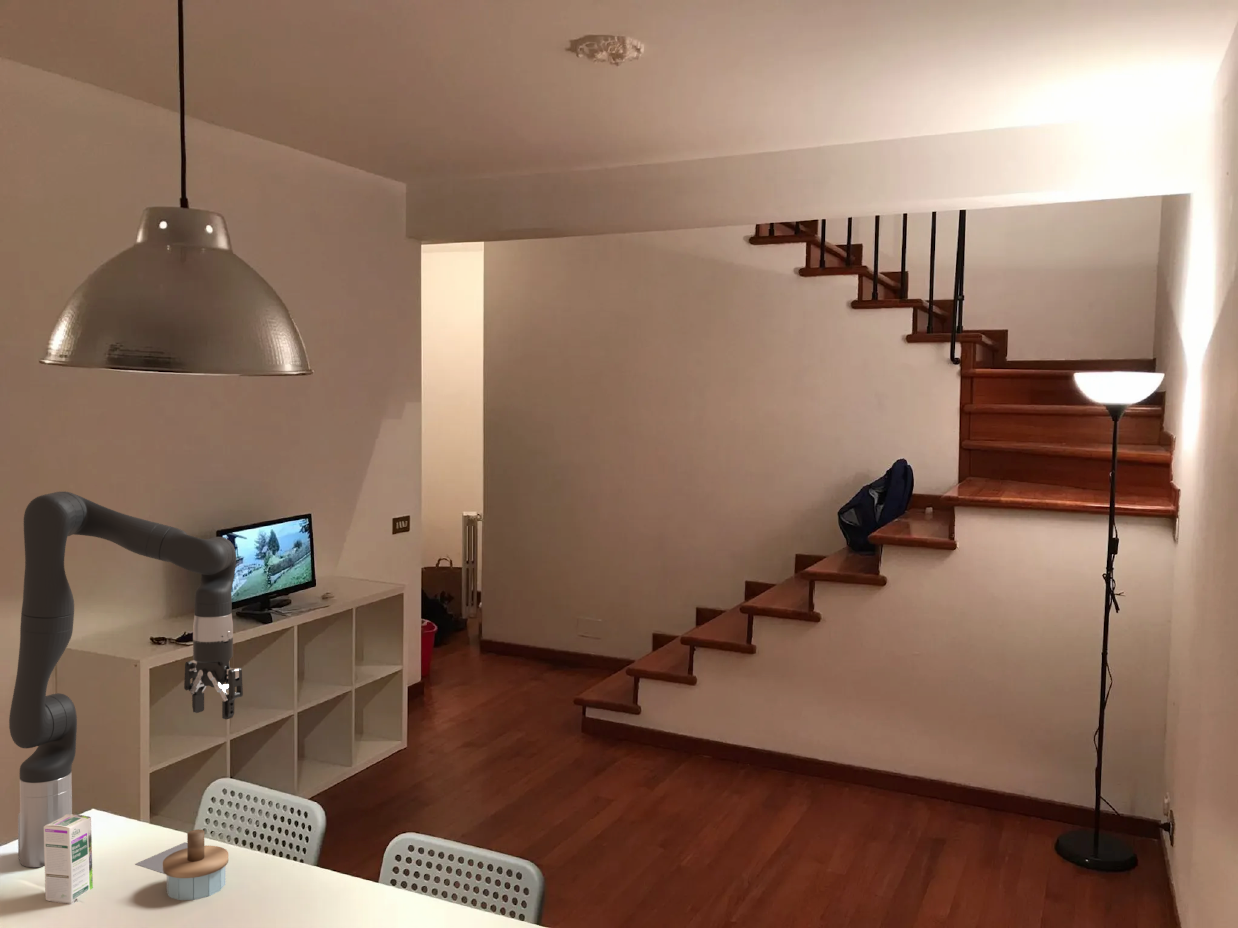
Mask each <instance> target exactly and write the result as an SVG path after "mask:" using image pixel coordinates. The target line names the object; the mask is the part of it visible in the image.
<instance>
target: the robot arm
mask: <svg viewBox="0 0 1238 928" xmlns="http://www.w3.org/2000/svg"><path fill="white" fill-rule="evenodd" d="M72 535H73V536H74V535H75V536H78V535H79V536H87V537H94V538H99V539H103V540H105V541H109V542H111V543H113V544H116V545H118V546H120V547H121V548H124V549H126V550H128V551H130V552H132V553H134V554H137V555H140V556H143V557H147V558H150V559H155V560H158V561H162V562H167V563H171V564H173V565H175V566H177V567H179V568H182V569H184V570H187V571H188V572H189V571H190V572H192V573H195V574H199V575H201V576H200V583H199V585H198V587H196V589H195V592H194V616H193V617H194V618H193V623H192V625H193V627H192V628H193V629H192V658H193V660H189V661H185V664H184V680H183V682H184V683H183V685H184V687H183V688H184V690H185V691H189V692H190V693H189V694H190V695H192V697H191V699H192V700H191V701H192V703H191V704H192V705H191V706H192V712H193V713H195V714H198V713H202V712H204V711H205V692H204V691H205V690H206V688H207V687H210V688H214V689H215V691H216V692H217V693H219V695H220V696H221V699H222V700H223V701H221V702H222V703H221V704H222V705H221V706H222V708H221V709H222V710H221V712H222V715H221V718H222V719H223V720H228V719H232V718H233V717H234V715H235V700H236V699H238V698H242V697H243V696H244V689H243V688H244V687H243V686H244V685H243V670H242V667H240V666H239V667H235V668H233V667H231V665H230V662H231V659H232V658H233V656H234V622H233V614H232V613H233V612H232V609H233V608H232V606H233V605H232V603H233V599H232V597H233V596H232V588H233V584H234V580H235V579H234V578H235V574H236V565H237V552H236V549H235V546H234V544H233V543H232V542H231V541H230V540H229V539H228V538H225V537H223V536H214V537H210V538H207V539H205V538H201V537H197V536H193V535H189V534H188V533H187V532H186V531H185V530H183V529H180V528H177V527H173V526H170V525H167V524H162V523H159V522H154V521H150V520H148V519H147V520H146V519H143V518H139V517H136V516H132V515H129V514H125V513H122V512H119V511H116V510H114V509H111V508H108V507H106V506H103V505H101V504H98V503H96V502H94V501H92V500H90V499H87V498H85V497H83V496H80V495H78V494H75V493H73V492H70V491H56V492H55V491H54V492H51V493H46V494H41V495H39V496H36V497H35V498H33V499H32V500H31V501H30V502H29V503H28V505H27V506H26V508H25V509H24V514H23V539H24V543H23V544H24V561H25V562H24V563H25V564H24V575H23V577H24V579H23V591H22V594H23V595H22V605H21V615H20V628H19V629H20V630H19V632H20V634H19V637H20V638H19V648H18V659H17V670H16V677H15V682H14V683H15V684H14V689H13V692H12V694H13V695H12V699H11V705H10V710H9V717H8V728H9V733H10V737H11V740H12V741H13V742H14V744H15V745H16V746H17V747H19V748H21V749H33V748H36V747H37V748H36V749H35V751H34V752H33V753H32V754H31V755H29V756H28V757H27V758H26V759H25V760H24V761H23V762H21V764H20V766H19V812H18V813H17V843H18V846H17V849H18V853H17V854H18V855H17V856H18V859H19V860H20V861H19V862H20V864H21V865H22V866H23V867H27V868H44V867H45V858H44V826H45V825H47V824H50V823H52V822H54V821H56V820H58V819H60V818H62V817H64V816H65V815H66V814H67V815H73V796H72V795H73V787H72V783H73V782H72V781H73V780H72V779H73V777H72V776H73V774H72V771H73V769H72V765H73V763H74V761H75V757H76V750H77V748H76V747H77V733H78V732H77V729H78V717H77V711H76V706H75V704H74V702H73V701H72V699H71V698H70V696H68V695H66V694H64V693H58V692H57V693H51V694H48V695H47V688H48V685H49V684H48V683H49V680H50V677H51V676H52V673H53V671H54V669H55V668H56V666H57V664H58V663H59V661H60V660H61V657H62V656H63V654H64V653H65V651H66V649H67V647H68V645H69V643H70V641H71V639H72V636H73V631H74V618H75V601H74V596H73V592H72V589H71V586H70V583H69V580H68V578H67V574H66V569H65V555H66V546H67V545H66V544H67V539H68V537H70V536H72ZM191 679H192V681H191ZM235 689H236V691H235Z"/></svg>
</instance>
